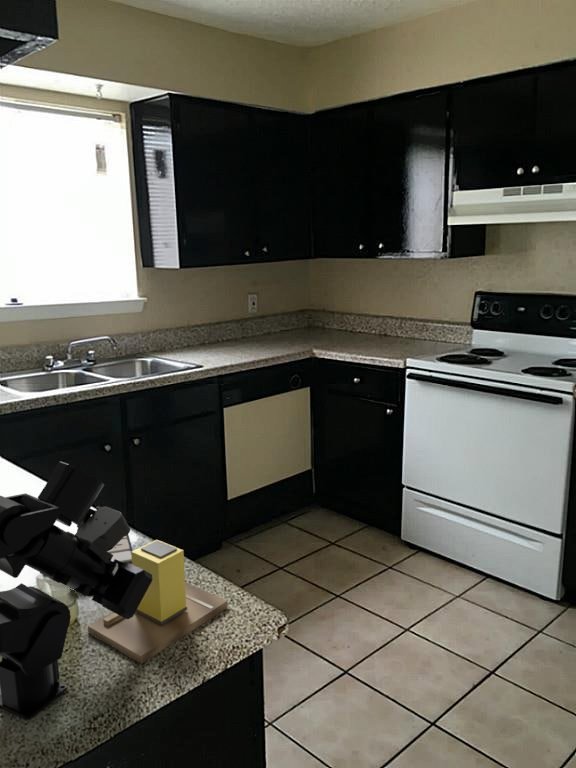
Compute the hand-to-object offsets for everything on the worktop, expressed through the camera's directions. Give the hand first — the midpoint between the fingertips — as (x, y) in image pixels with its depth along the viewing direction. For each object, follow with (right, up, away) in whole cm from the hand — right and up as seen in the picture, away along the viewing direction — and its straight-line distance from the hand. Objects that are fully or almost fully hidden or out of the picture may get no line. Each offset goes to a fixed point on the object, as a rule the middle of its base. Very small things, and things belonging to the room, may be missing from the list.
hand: (130, 594), depth 96 cm
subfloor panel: (+3, -6, +5) cm, 9 cm away
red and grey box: (-11, -3, +23) cm, 25 cm away
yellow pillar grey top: (+3, -4, +5) cm, 8 cm away
